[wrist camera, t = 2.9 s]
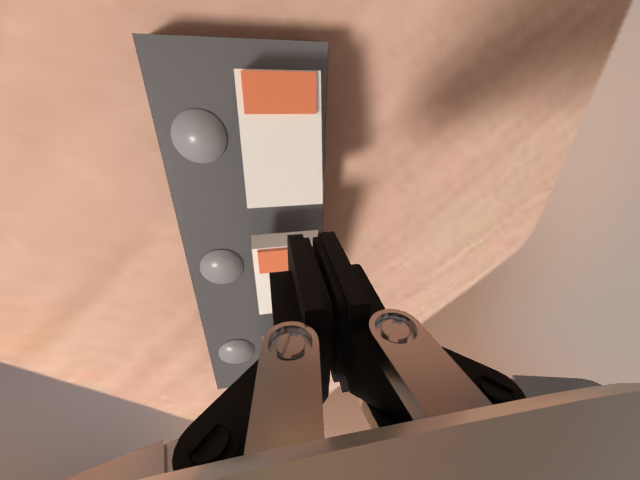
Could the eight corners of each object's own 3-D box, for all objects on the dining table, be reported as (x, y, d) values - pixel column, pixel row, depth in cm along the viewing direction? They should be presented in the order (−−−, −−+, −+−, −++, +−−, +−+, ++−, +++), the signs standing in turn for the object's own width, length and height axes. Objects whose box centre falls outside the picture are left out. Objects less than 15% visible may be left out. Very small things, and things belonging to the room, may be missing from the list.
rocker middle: (250, 235, 18) (251, 251, 17) (317, 229, 18) (322, 245, 17) (258, 300, 22) (259, 317, 21) (312, 294, 23) (315, 309, 22)
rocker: (235, 74, 15) (233, 67, 13) (316, 75, 15) (321, 69, 14) (247, 203, 17) (247, 209, 15) (318, 199, 17) (323, 204, 16)
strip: (145, 36, 15) (126, 32, 13) (320, 43, 17) (331, 40, 14) (219, 369, 28) (217, 396, 26) (313, 354, 30) (319, 378, 28)
